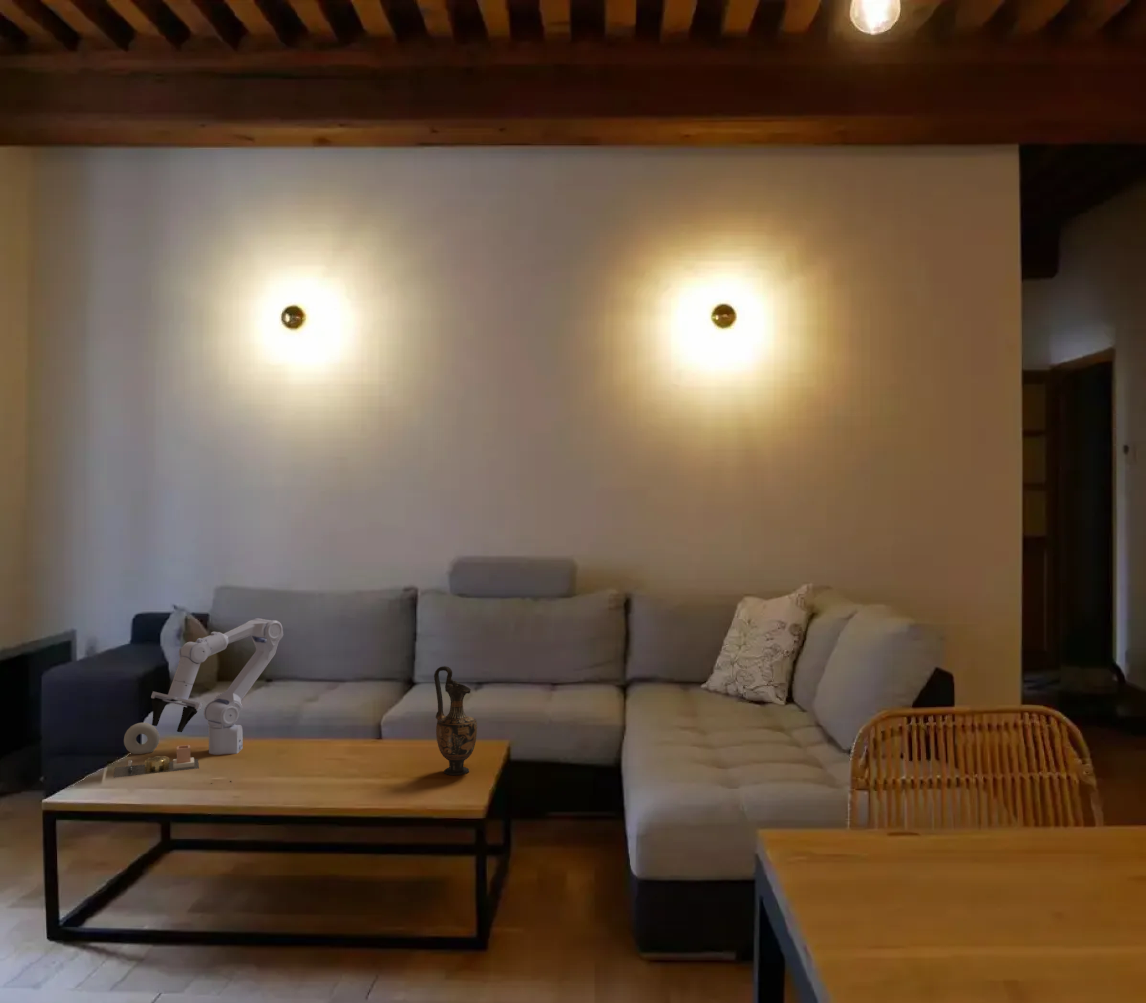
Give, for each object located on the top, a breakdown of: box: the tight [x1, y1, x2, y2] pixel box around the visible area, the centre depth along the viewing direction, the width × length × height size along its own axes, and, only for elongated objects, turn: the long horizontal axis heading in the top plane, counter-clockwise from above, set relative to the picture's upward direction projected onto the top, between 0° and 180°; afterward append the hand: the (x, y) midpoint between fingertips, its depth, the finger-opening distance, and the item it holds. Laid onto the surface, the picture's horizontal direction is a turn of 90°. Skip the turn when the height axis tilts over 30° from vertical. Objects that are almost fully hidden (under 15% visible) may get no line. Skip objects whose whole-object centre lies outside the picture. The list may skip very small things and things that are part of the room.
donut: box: [123, 722, 160, 755], centre depth 286 cm, size 10×4×10 cm, turn 102°
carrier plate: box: [113, 755, 200, 779], centre depth 270 cm, size 22×10×4 cm, turn 114°
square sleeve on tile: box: [172, 744, 195, 769], centre depth 273 cm, size 6×6×5 cm
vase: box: [433, 665, 478, 776], centre depth 271 cm, size 12×12×30 cm
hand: (166, 728), depth 273 cm, fingers open, 7 cm apart
